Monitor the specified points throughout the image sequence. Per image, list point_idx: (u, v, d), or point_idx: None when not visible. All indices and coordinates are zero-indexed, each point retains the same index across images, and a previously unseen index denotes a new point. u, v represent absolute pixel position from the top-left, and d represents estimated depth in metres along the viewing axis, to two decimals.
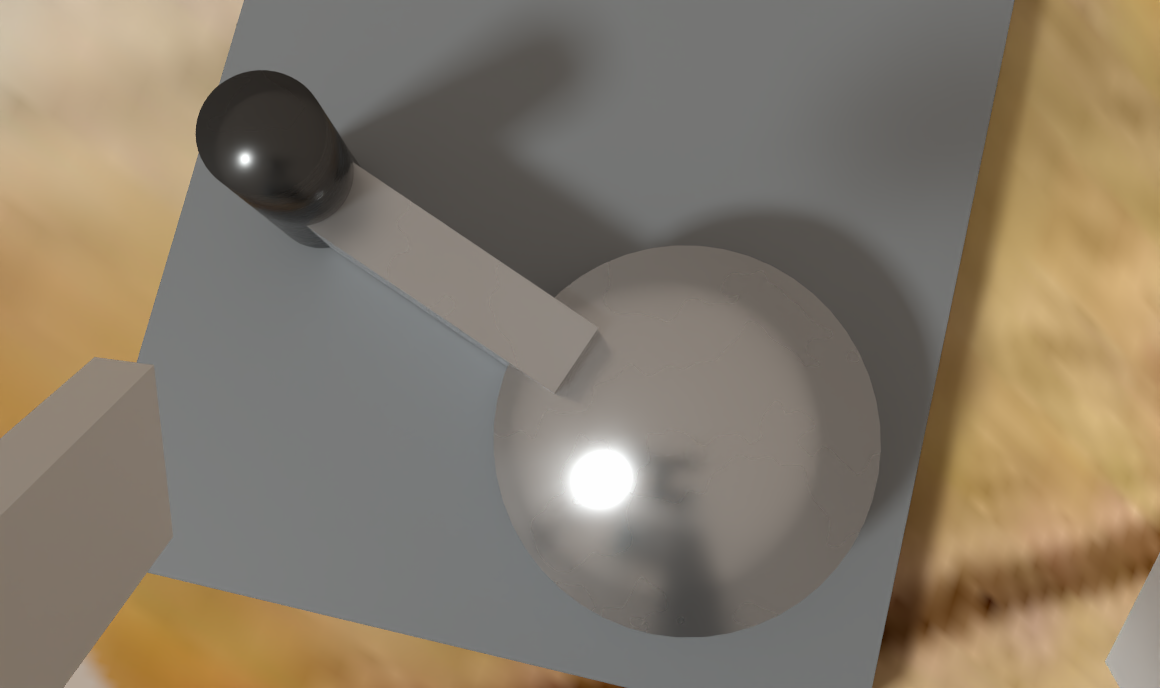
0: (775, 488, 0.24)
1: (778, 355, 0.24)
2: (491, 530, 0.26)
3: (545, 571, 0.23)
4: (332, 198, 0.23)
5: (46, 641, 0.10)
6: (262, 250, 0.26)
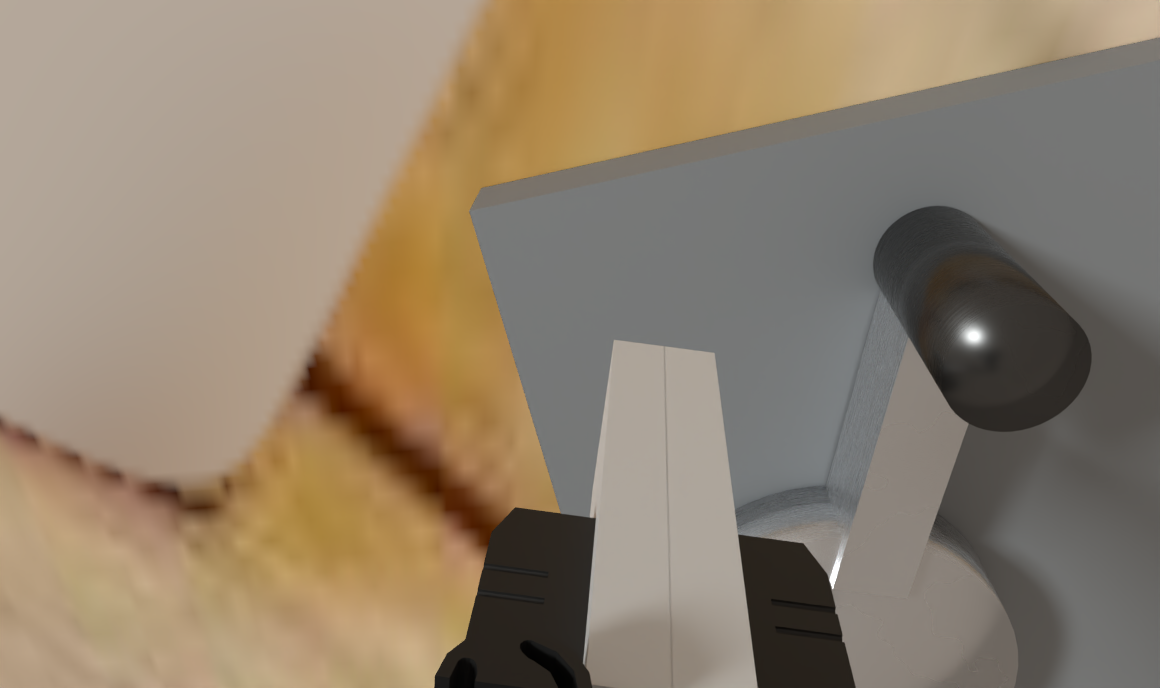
0: None
1: None
2: None
3: None
4: None
5: None
6: (850, 226, 0.23)
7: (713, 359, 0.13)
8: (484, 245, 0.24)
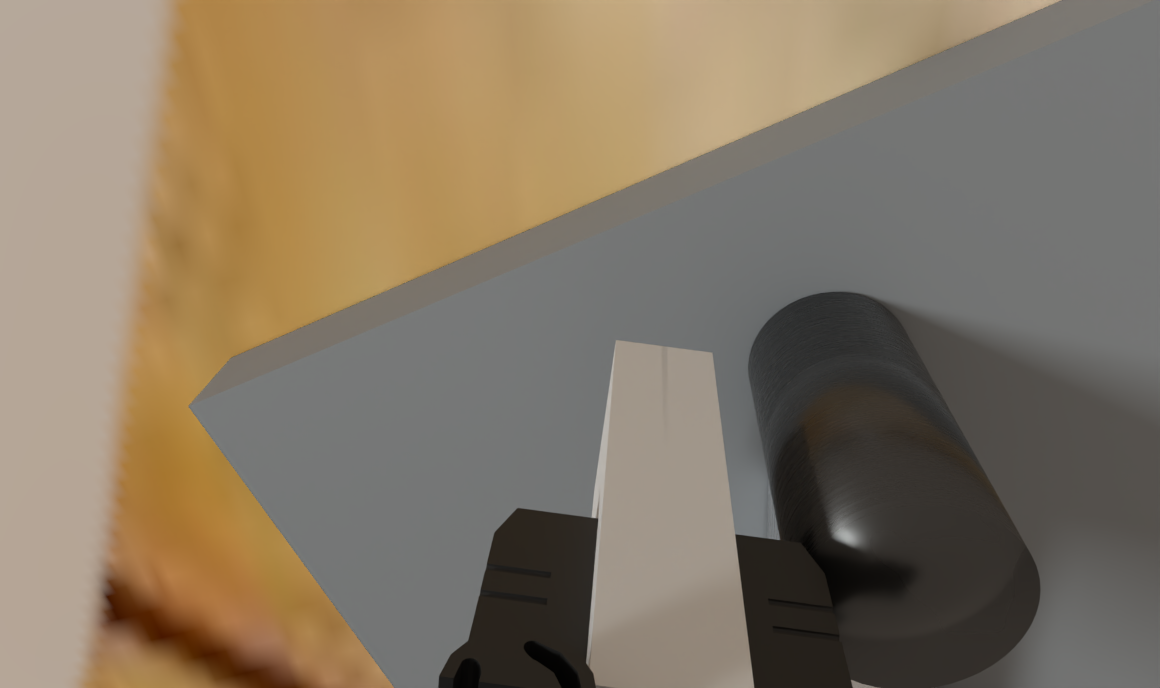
0: None
1: None
2: None
3: None
4: None
5: None
6: (692, 340, 0.16)
7: (710, 358, 0.13)
8: (222, 443, 0.18)
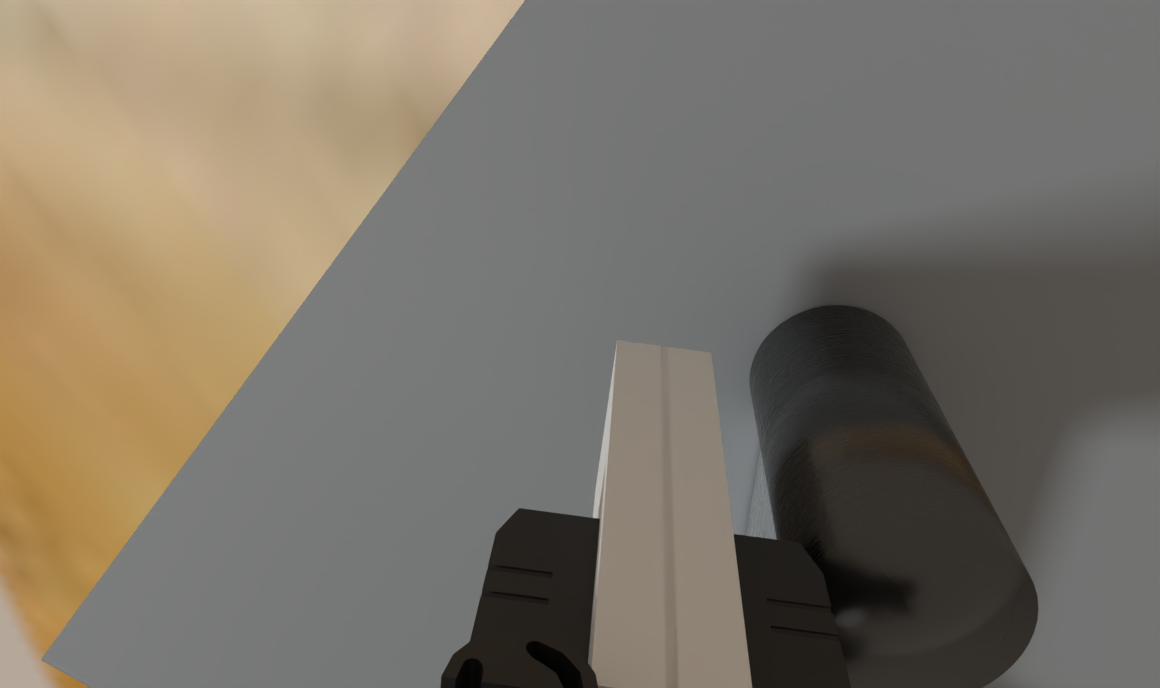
0: None
1: None
2: None
3: None
4: None
5: None
6: (347, 464, 0.18)
7: (709, 357, 0.13)
8: (82, 678, 0.21)
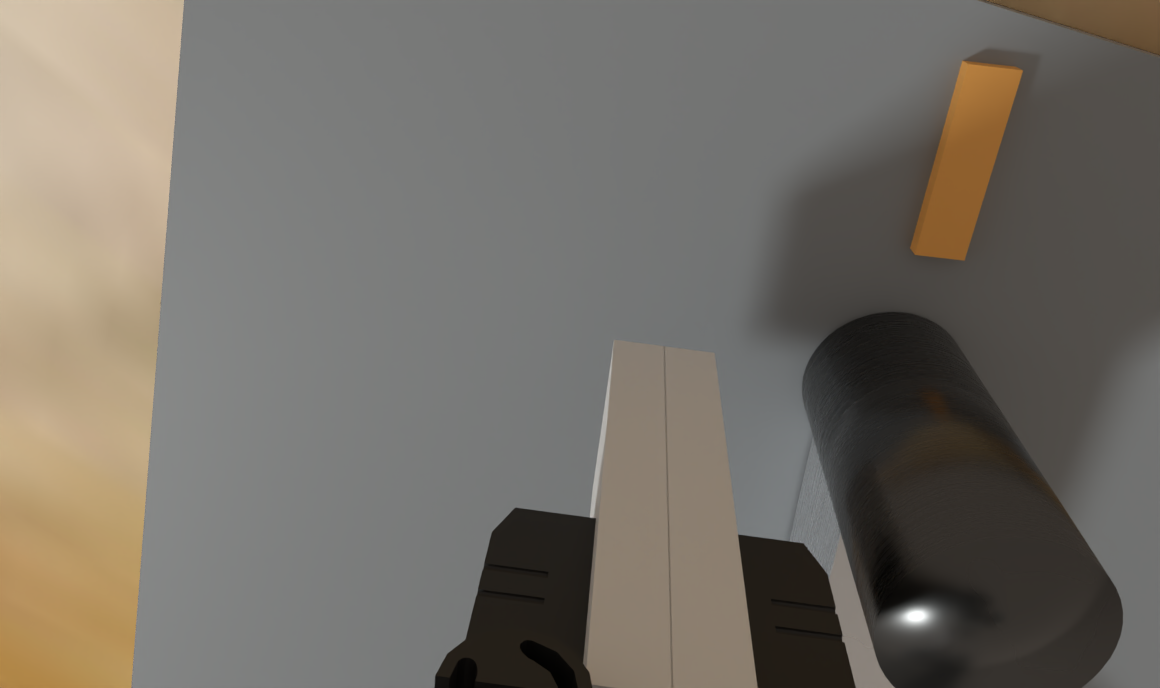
0: None
1: None
2: None
3: None
4: None
5: None
6: (252, 621, 0.20)
7: (712, 358, 0.13)
8: None
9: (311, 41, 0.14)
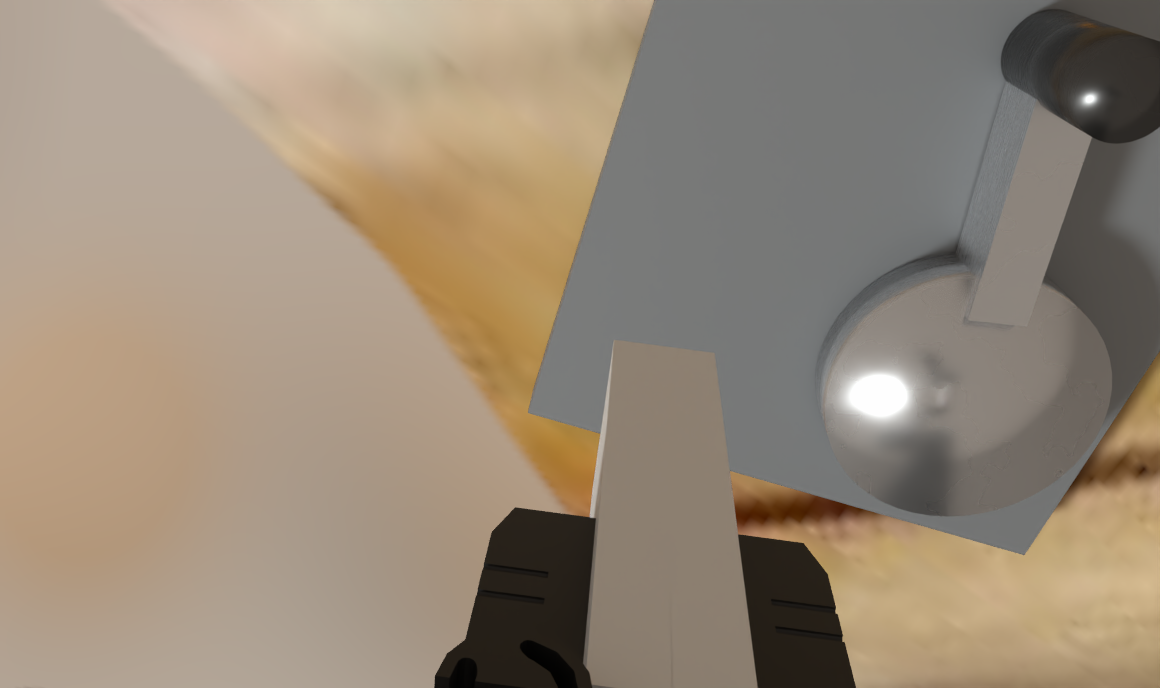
0: (951, 463, 0.35)
1: (1044, 432, 0.34)
2: (802, 419, 0.37)
3: (840, 361, 0.33)
4: None
5: None
6: (657, 224, 0.34)
7: (713, 359, 0.13)
8: (551, 416, 0.38)
9: None
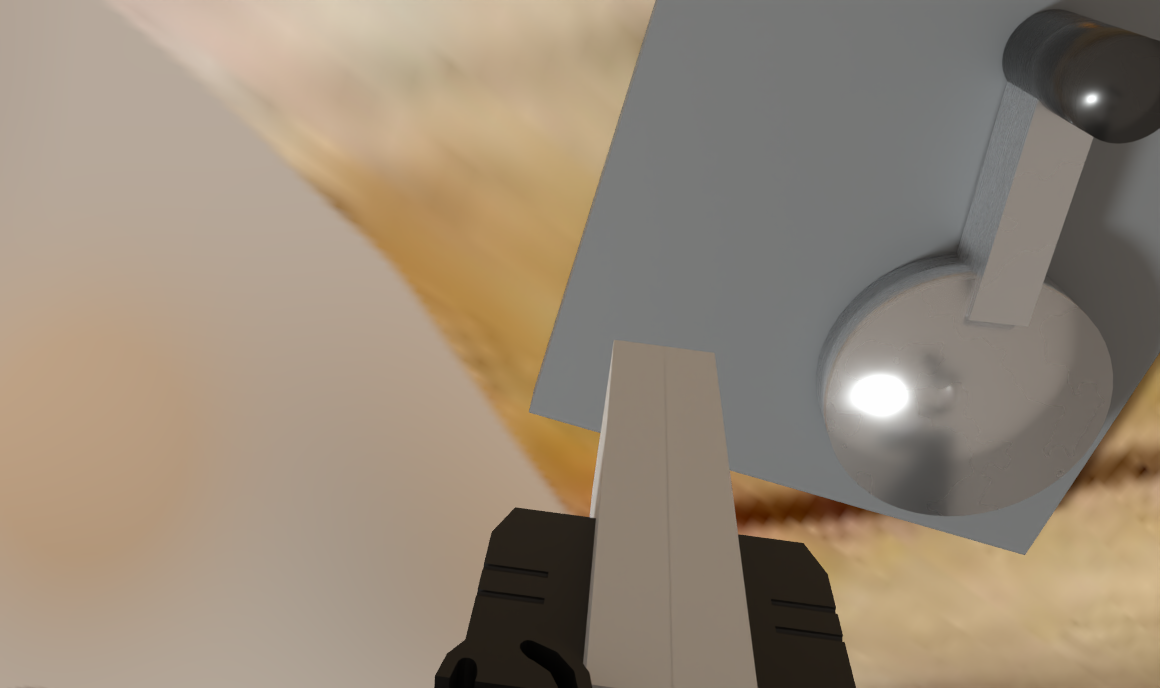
0: (951, 463, 0.35)
1: (1045, 432, 0.34)
2: (803, 419, 0.37)
3: (841, 361, 0.33)
4: None
5: None
6: (658, 224, 0.34)
7: (713, 358, 0.13)
8: (552, 416, 0.38)
9: None
